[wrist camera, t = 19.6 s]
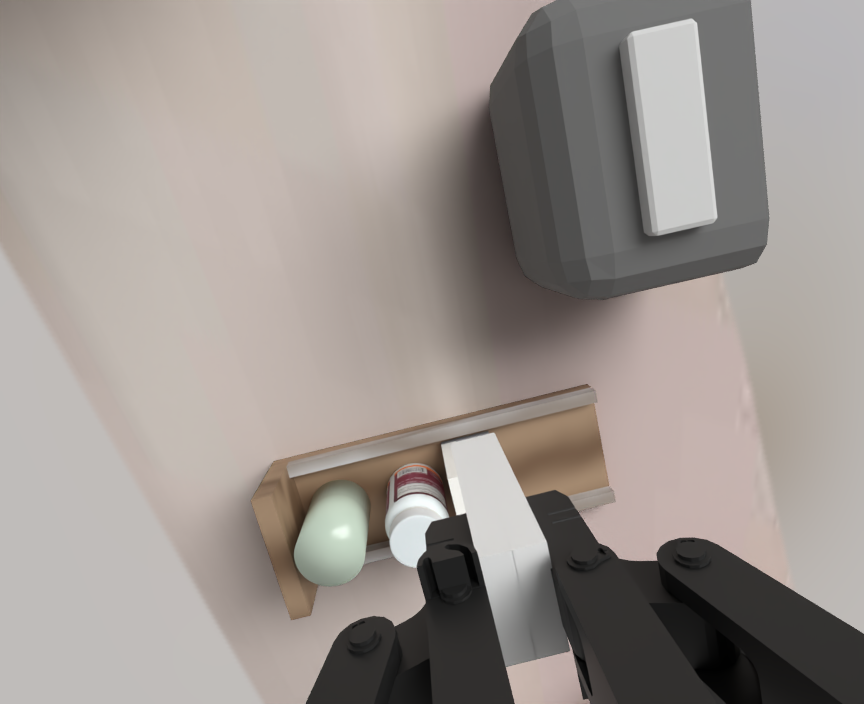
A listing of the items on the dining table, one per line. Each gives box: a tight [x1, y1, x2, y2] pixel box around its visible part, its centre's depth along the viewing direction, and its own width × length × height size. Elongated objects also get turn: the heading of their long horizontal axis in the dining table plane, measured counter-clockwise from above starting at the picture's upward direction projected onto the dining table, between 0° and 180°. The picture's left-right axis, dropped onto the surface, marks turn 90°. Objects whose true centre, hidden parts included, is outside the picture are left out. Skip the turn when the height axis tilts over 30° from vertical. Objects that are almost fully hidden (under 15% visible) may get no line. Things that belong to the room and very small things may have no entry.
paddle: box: [441, 431, 489, 515], centre depth 41 cm, size 7×4×7 cm, turn 14°
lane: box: [251, 384, 616, 620], centre depth 43 cm, size 10×27×7 cm, turn 104°
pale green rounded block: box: [294, 480, 371, 586], centre depth 42 cm, size 5×5×7 cm
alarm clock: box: [489, 0, 769, 300], centre depth 34 cm, size 16×11×16 cm
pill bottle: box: [385, 463, 449, 568], centre depth 41 cm, size 5×5×8 cm
